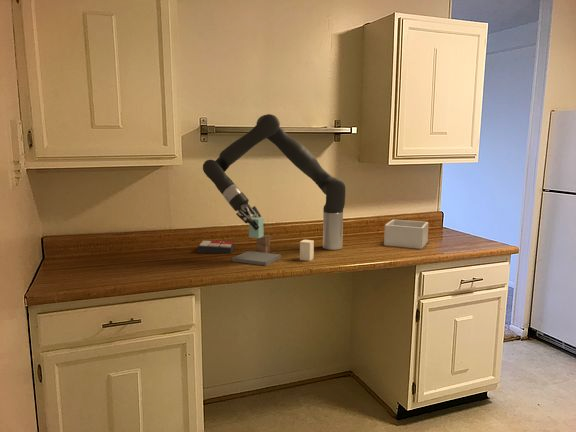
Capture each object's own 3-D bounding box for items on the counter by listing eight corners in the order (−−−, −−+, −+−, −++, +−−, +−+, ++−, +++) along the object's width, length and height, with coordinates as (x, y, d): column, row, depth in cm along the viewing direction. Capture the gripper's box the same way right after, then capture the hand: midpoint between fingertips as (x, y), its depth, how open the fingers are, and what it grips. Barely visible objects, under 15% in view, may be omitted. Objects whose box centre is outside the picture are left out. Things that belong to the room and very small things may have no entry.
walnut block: (261, 251, 216) (261, 234, 215) (270, 252, 214) (270, 235, 213) (256, 253, 212) (256, 236, 211) (265, 254, 210) (265, 237, 209)
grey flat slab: (248, 254, 211) (248, 250, 211) (280, 257, 204) (280, 254, 204) (232, 261, 198) (232, 257, 198) (266, 265, 192) (266, 262, 192)
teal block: (254, 235, 203) (254, 217, 201) (263, 236, 201) (263, 217, 200) (249, 237, 199) (249, 218, 197) (258, 238, 197) (258, 219, 196)
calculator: (231, 246, 211) (197, 244, 211) (230, 255, 212) (197, 253, 212) (234, 241, 222) (202, 239, 222) (233, 250, 223) (202, 248, 223)
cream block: (303, 257, 206) (304, 239, 204) (313, 258, 204) (313, 240, 202) (299, 259, 202) (300, 241, 200) (309, 261, 200) (309, 242, 198)
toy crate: (392, 238, 246) (392, 219, 244) (427, 241, 238) (428, 222, 237) (384, 245, 230) (384, 225, 228) (421, 248, 222) (422, 228, 221)
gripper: (232, 193, 193) (258, 224, 190) (249, 190, 206) (273, 219, 203) (221, 205, 196) (246, 236, 193) (238, 201, 209) (262, 230, 206)
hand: (260, 227), depth 198 cm, fingers closed on teal block, 4 cm apart
